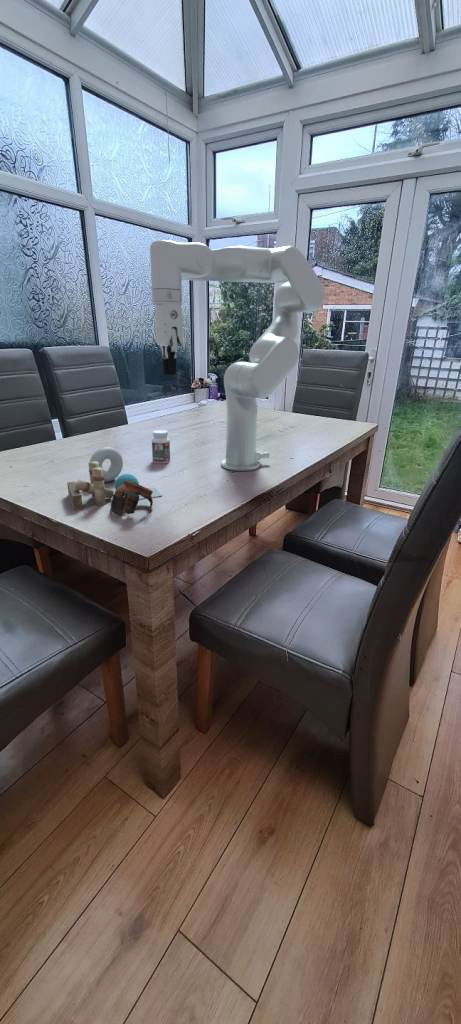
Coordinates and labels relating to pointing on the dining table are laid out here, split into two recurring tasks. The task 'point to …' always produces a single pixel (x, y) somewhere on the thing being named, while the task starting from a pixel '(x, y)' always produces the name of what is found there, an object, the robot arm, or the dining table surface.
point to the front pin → (92, 488)
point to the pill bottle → (160, 447)
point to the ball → (124, 477)
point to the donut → (114, 458)
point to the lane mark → (154, 494)
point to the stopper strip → (74, 496)
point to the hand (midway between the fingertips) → (169, 374)
